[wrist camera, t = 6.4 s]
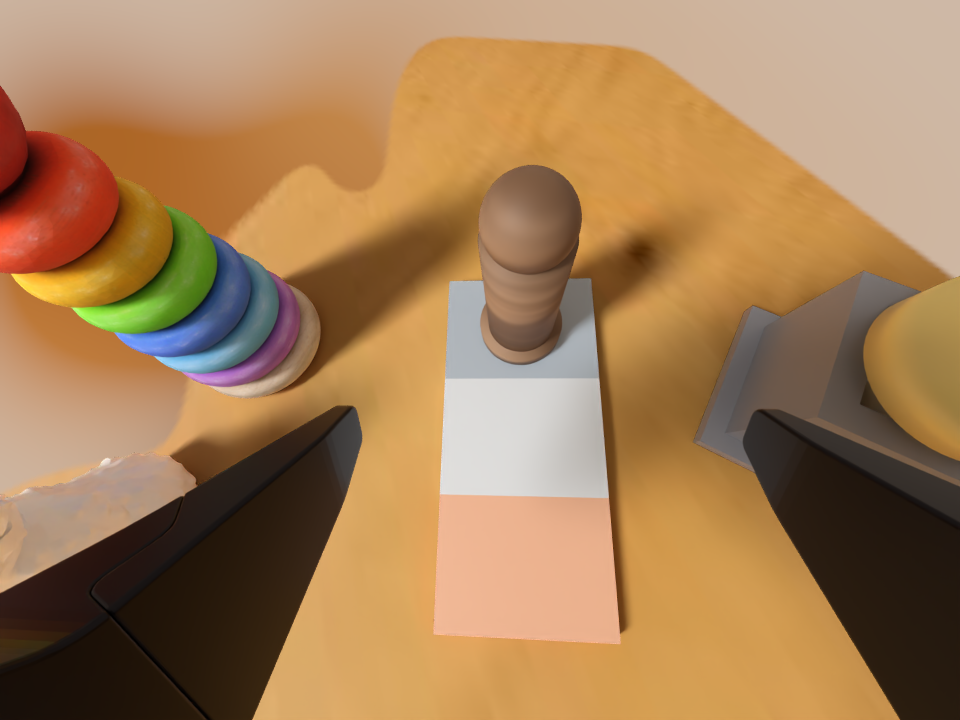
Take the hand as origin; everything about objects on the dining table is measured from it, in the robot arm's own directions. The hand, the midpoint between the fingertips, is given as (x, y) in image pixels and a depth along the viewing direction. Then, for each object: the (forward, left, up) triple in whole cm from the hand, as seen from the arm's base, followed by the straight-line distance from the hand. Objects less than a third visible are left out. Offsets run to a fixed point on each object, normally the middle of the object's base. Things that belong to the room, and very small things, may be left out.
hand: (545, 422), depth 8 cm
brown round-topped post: (+6, +4, -12) cm, 14 cm away
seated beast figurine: (-16, +15, -13) cm, 26 cm away
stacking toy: (-4, +18, -13) cm, 23 cm away
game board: (+1, +1, -13) cm, 13 cm away
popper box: (+11, -11, -13) cm, 21 cm away
